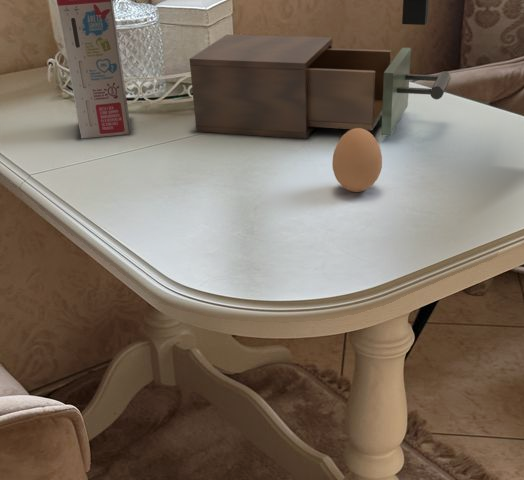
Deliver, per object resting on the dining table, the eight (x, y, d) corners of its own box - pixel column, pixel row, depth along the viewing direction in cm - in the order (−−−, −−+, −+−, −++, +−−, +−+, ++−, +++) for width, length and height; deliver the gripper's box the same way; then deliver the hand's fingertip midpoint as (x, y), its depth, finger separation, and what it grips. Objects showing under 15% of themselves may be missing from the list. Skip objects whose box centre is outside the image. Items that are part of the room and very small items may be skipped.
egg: (323, 193, 88) (322, 131, 84) (348, 177, 92) (349, 117, 88) (364, 203, 85) (366, 140, 81) (389, 187, 89) (392, 125, 85)
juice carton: (129, 118, 114) (105, -51, 101) (130, 133, 108) (104, -44, 96) (82, 123, 113) (52, -48, 101) (81, 138, 108) (49, -40, 95)
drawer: (450, 108, 108) (455, 49, 104) (436, 138, 98) (441, 75, 94) (307, 100, 114) (306, 44, 110) (281, 129, 104) (279, 68, 100)
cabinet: (332, 107, 114) (332, 37, 108) (306, 138, 103) (305, 63, 98) (231, 101, 118) (226, 34, 113) (196, 131, 108) (189, 58, 102)
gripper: (405, -218, 87) (394, 10, 100) (378, -220, 77) (370, 34, 90) (474, -223, 85) (454, 12, 98) (456, -225, 75) (437, 37, 88)
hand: (414, 22), depth 94 cm, fingers closed
